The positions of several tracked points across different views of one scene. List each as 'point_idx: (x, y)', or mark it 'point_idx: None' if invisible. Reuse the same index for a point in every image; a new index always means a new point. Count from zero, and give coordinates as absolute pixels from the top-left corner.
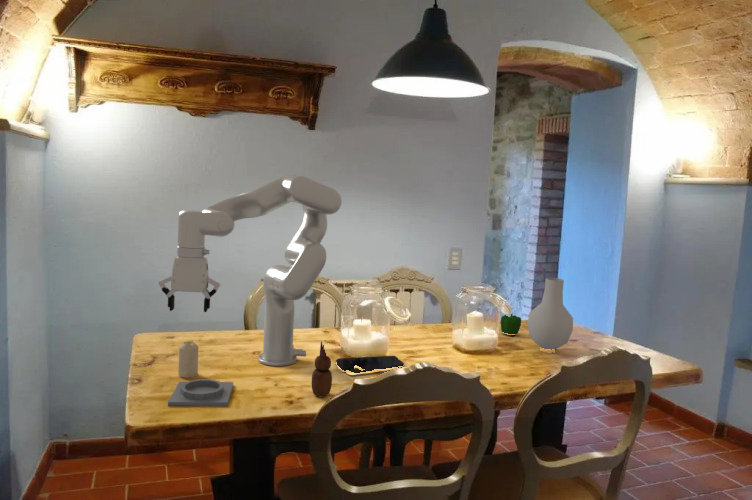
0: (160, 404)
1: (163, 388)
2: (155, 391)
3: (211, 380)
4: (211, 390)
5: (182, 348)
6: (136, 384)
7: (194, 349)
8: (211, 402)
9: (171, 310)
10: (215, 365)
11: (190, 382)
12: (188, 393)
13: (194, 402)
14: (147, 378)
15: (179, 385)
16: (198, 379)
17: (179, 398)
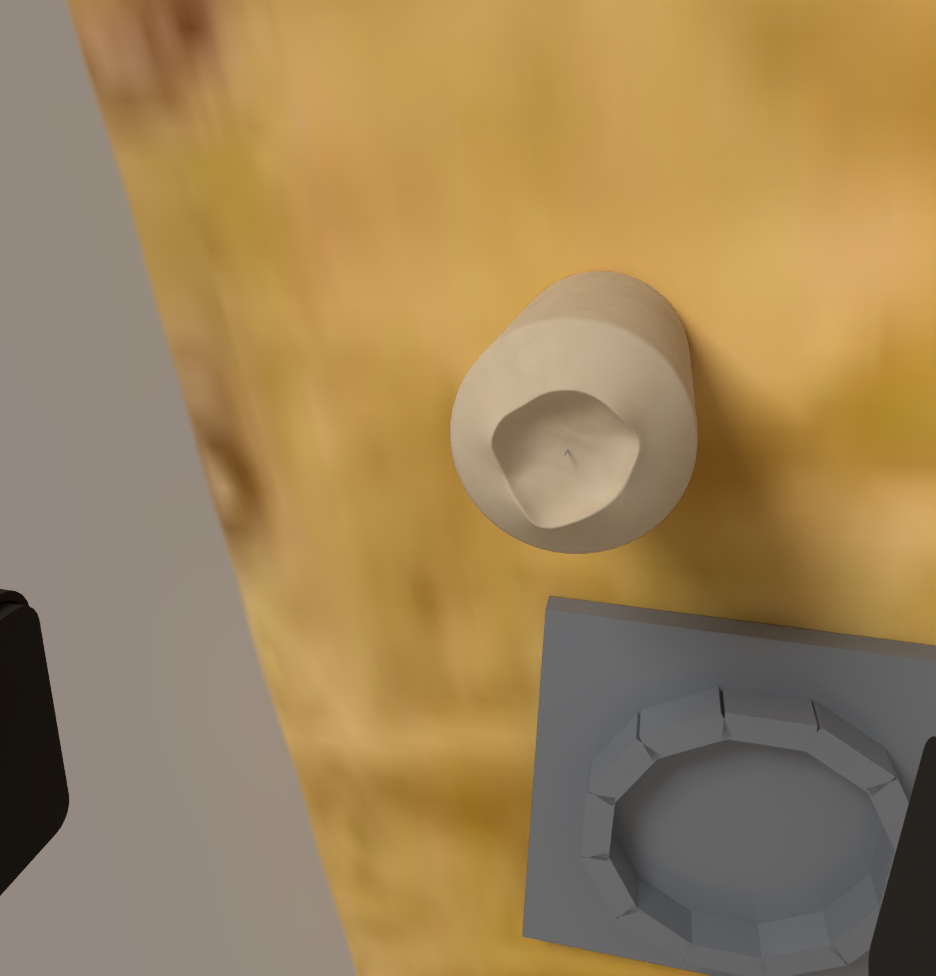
0: (478, 890)
1: (446, 648)
2: (403, 694)
3: (825, 751)
4: (814, 814)
5: (502, 526)
6: (243, 553)
7: (651, 526)
8: None
9: (55, 814)
10: (892, 39)
11: (645, 770)
12: (644, 934)
13: (690, 970)
14: (282, 433)
15: (558, 690)
16: (709, 716)
17: (587, 902)
